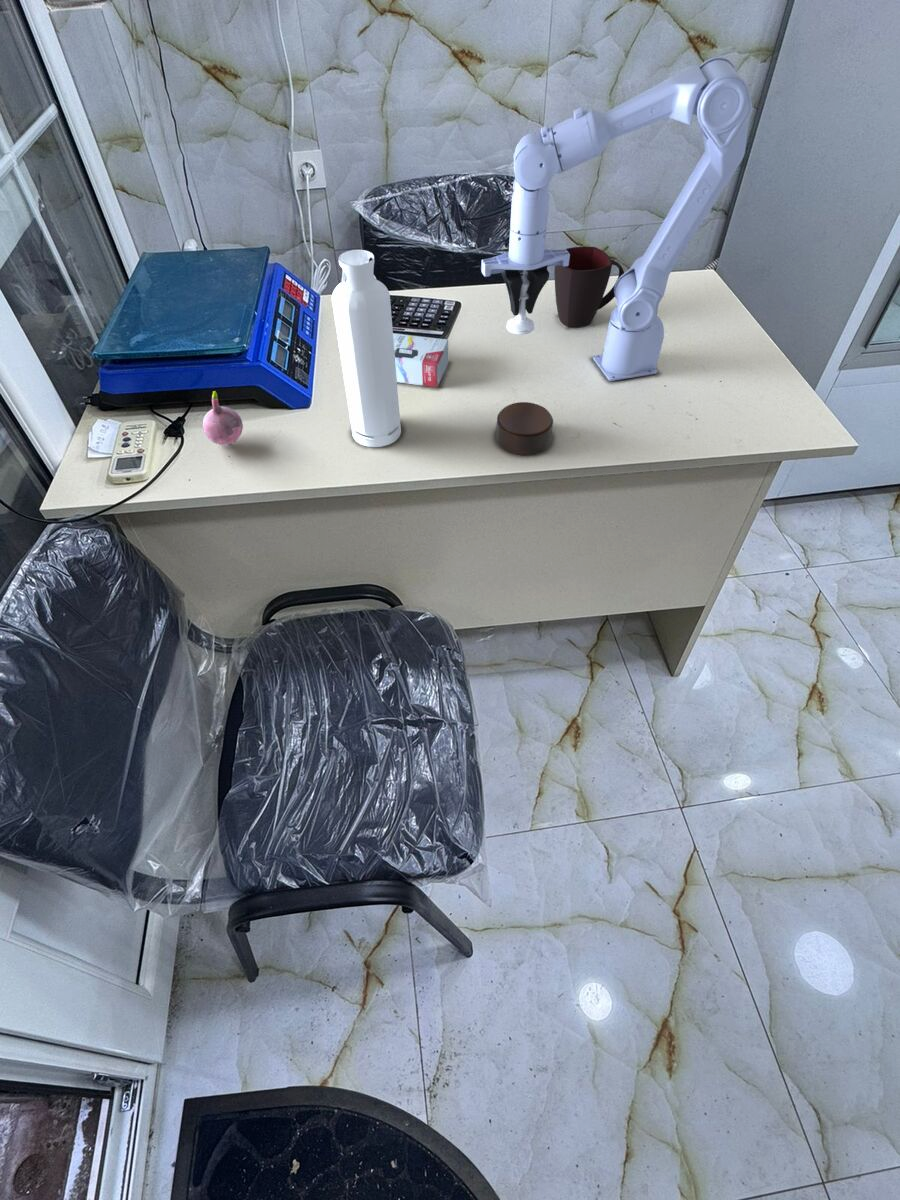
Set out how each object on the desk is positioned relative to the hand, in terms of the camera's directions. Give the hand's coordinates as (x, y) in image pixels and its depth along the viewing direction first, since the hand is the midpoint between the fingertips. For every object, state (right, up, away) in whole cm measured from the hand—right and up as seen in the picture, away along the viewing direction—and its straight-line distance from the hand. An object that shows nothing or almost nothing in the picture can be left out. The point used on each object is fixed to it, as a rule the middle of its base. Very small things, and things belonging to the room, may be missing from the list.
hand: (521, 311), depth 112 cm
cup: (+14, +6, +18) cm, 24 cm away
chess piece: (0, -2, +2) cm, 3 cm away
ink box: (-14, -8, +4) cm, 16 cm away
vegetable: (-49, -25, -6) cm, 55 cm away
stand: (0, -24, -6) cm, 24 cm away
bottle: (-25, -22, -5) cm, 34 cm away
